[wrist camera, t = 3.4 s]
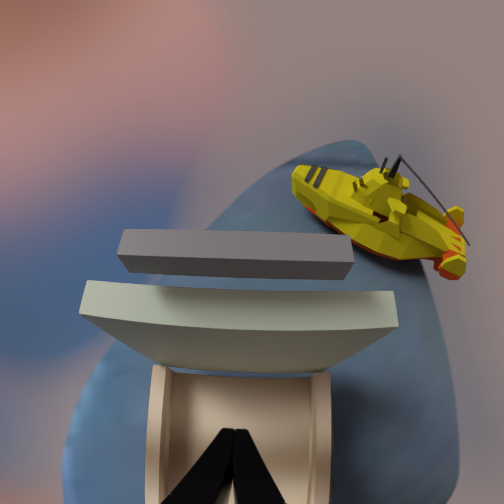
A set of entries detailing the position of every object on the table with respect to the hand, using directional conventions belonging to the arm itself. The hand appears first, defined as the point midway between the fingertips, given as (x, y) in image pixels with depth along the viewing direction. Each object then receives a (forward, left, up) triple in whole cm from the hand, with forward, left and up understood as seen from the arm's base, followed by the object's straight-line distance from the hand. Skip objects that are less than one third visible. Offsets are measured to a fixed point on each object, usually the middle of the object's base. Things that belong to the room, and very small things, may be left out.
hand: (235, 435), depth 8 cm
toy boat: (+16, -12, -11) cm, 23 cm away
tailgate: (+4, 0, -8) cm, 9 cm away
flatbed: (-3, 0, -11) cm, 11 cm away
